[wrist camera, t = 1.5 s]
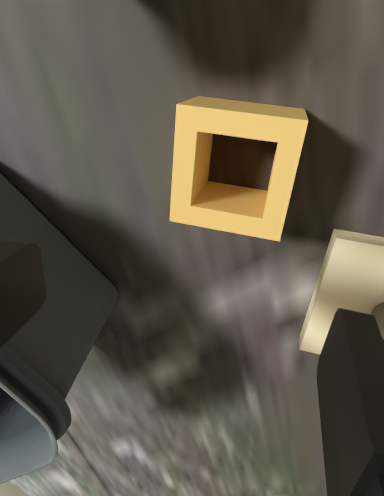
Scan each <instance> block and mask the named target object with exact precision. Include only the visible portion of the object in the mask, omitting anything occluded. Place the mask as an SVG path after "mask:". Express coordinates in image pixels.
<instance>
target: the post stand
mask: <svg viewBox="0 0 384 496" xmlns="http://www.w3.org/2000/svg"><path fill="white" fill-rule="evenodd" d="M338 308H342V309H347V310H352V311H357V312H361V313H366V314H371V315H373V316H374V317H375V319H376V321H377V324H378V327H379V330H380V333H381V336H382V339H384V237H379V236H373V235H367V234H362V233H356V232H350V231H345V230H339V229H334V230H333V233H332V236H331V239H330V242H329V245H328V248H327V252H326V255H325V258H324V261H323V264H322V267H321V270H320V274H319V277H318V280H317V283H316V286H315V289H314V292H313V296H312V299H311V302H310V305H309V308H308V311H307V314H306V318H305V321H304V324H303V327H302V330H301V333H300V336H299V342H300V350H303V351H308V352H312V353H316V354H321V351H322V348H323V345H324V343H325V340H326V337H327V334H328V331H329V329H330V326H331V323H332V320H333V317H334V315H335V313H336V311H337V309H338Z"/></svg>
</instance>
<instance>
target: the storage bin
mask: <svg viewBox="0 0 384 496" xmlns="http://www.w3.org/2000/svg"><path fill="white" fill-rule="evenodd" d="M6 239H14V240H19V241H24V242H29V243H34V244H36V245H37V246H38V247H39V248H40V251H41V256H42V263H43V270H44V277H45V284H46V298H45V301H44V304H43V306H42V307H41V309H40V310H39V311H38V312H37V313H36V314H35V315H34V316H33V317H32V318H31V319H30V320H29V321H28V322H27V323H26V324H25V325H24V326H23V327H22V328H21V329H20V330H19V331H18V332H17V333H16V334H15V335H14V336H13V337H12V338H11V339H10V340H9V341H8V342H7V343H6V344H5V345H4V346H3V347H2V348H0V484H2V483H4V482H7V481H9V480H12V479H15V478H17V477H20V476H23V475H25V474H28V473H30V472H33V471H36V470H38V469H41V468H43V467H45V466H48V465H50V464H51V463H53V461H54V460H55V458H56V456H57V454H58V445H57V440H58V439H60V438H61V437H62V436H63V435H64V433H65V432H66V431H67V429H68V428H69V426H70V424H71V413H70V409H69V407H68V405H67V403H66V401H65V398H66V396H67V394H68V392H69V390H70V388H71V386H72V384H73V382H74V380H75V378H76V376H77V374H78V373H79V371H80V369H81V367H82V365H83V363H84V361H85V359H86V357H87V355H88V354H89V352H90V350H91V348H92V346H93V344H94V342H95V340H96V339H97V337H98V335H99V333H100V331H101V329H102V327H103V326H104V324H105V322H106V320H107V318H108V316H109V315H110V313H111V311H112V309H113V307H114V305H115V303H116V301H117V299H118V292H117V289H116V288H115V287H114V285H113V284H112V283H111V282H110V281H109V280H108V279H107V278H106V277H105V276H104V275H103V274H102V273H101V272H99V271H98V270H97V269H96V268H95V267H94V266H93V265H92V264H91V263H90V262H89V261H88V260H87V259H86V258H85V257H84V256H83V255H82V254H81V253H80V252H79V251H78V250H77V249H76V248H75V247H74V246H73V245H72V244H71V243H70V242H69V241H68V240H67V239H66V238H65V237H64V236H63V235H62V234H61V233H60V232H59V231H58V230H57V229H56V228H55V227H54V226H53V225H52V224H51V223H50V222H49V221H48V220H47V219H46V218H45V217H44V216H43V215H42V214H41V213H40V212H39V211H38V210H37V209H36V208H35V207H34V206H33V205H32V204H31V203H30V202H29V201H28V200H27V199H26V198H25V197H24V196H23V195H22V194H21V193H20V192H19V191H18V190H17V189H16V188H15V187H14V186H13V185H12V184H11V183H10V182H9V181H8V180H7V179H6V178H5V177H4V176H3V175H2V174H1V173H0V243H1V242H2V241H4V240H6Z"/></svg>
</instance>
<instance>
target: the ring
mask: <svg viewBox="0 0 384 496" xmlns="http://www.w3.org/2000/svg"><path fill="white" fill-rule="evenodd" d="M307 125H308V117H307V114H306V111H305V109H301V108H293V107H285V106H276V105H268V104H260V103H251V102H243V101H235V100H226V99H218V98H210V97H201V96H198V97H195V98H192V99H189V100H187V101H184V102H181V103H178V104H177V105H176V122H175V139H174V156H173V172H172V189H171V206H170V221H173V222H178V223H184V224H189V225H194V226H200V227H205V228H210V229H216V230H221V231H226V232H232V233H237V234H242V235H248V236H253V237H259V238H264V239H269V240H275V241H280V238H281V234H282V230H283V226H284V221H285V217H286V213H287V209H288V205H289V200H290V196H291V192H292V188H293V184H294V179H295V175H296V171H297V167H298V163H299V158H300V154H301V150H302V146H303V142H304V137H305V133H306V129H307ZM213 134H220V135H227V136H234V137H242V138H249V139H256V140H263V141H271V142H277V147H276V152H275V156H274V161H273V166H272V171H271V176H270V181H269V186H268V191H266V190H260V189H254V188H248V187H242V186H236V185H230V184H223V183H217V182H211V181H208V175H209V166H210V157H211V149H212V140H213Z"/></svg>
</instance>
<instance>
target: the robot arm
mask: <svg viewBox="0 0 384 496" xmlns="http://www.w3.org/2000/svg"><path fill="white" fill-rule="evenodd" d="M45 298H46V284H45V277H44V270H43V263H42V256H41V251H40V248H39V247H38V246H37V245H36V244H34V243H29V242H24V241H19V240H14V239H6V240H4V241H2V242H1V243H0V348H2V347H3V346H4V345H5V344H6V343H7V342H8V341H9V340H10V339H11V338H12V337H13V336H14V335H15V334H16V333H17V332H18V331H19V330H20V329H21V328H22V327H23V326H24V325H25V324H26V323H27V322H28V321H29V320H30V319H31V318H32V317H33V316H34V315H35V314H36V313H37V312H38V311H39V310H40V309H41V307H42V306H43V304H44V301H45ZM317 386H318V397H319V408H320V419H321V430H322V441H323V453H324V464H325V475H326V486H327V496H384V339H382V336H381V333H380V330H379V327H378V324H377V321H376V319H375V317H374V316H373V315H371V314H366V313H361V312H357V311H352V310H347V309H342V308H338V309H337V311H336V313H335V315H334V317H333V320H332V323H331V326H330V329H329V331H328V334H327V337H326V340H325V343H324V345H323V348H322V351H321V354H320V357H319V362H318V368H317Z"/></svg>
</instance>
